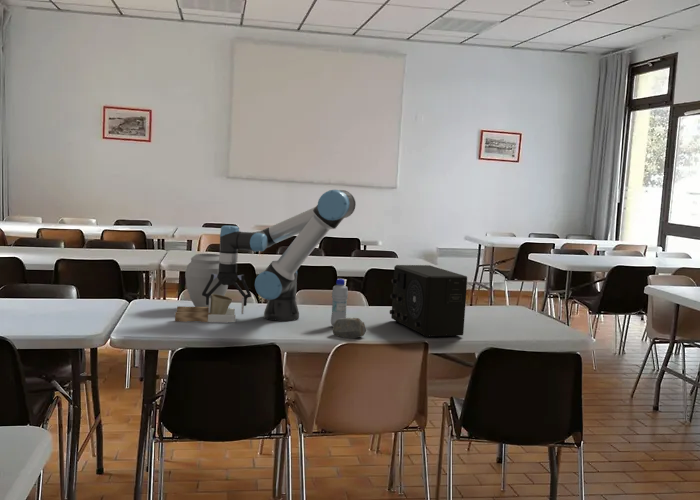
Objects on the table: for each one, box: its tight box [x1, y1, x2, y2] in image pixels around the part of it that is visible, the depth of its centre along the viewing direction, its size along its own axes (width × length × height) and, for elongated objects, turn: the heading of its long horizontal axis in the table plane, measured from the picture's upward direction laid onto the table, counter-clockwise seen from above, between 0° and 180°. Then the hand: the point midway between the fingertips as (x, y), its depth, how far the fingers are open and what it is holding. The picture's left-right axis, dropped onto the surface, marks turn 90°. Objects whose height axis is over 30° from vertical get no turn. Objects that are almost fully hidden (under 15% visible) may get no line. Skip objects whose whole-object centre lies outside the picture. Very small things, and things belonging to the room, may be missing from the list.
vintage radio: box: [389, 264, 468, 339], centre depth 295 cm, size 38×20×25 cm, turn 20°
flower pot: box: [210, 294, 234, 315], centre depth 293 cm, size 9×9×9 cm
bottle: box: [330, 278, 349, 328], centre depth 289 cm, size 7×7×20 cm
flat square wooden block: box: [174, 305, 211, 323], centre depth 291 cm, size 14×14×4 cm
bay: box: [207, 307, 236, 323], centre depth 294 cm, size 11×15×3 cm
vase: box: [184, 253, 229, 307], centre depth 311 cm, size 20×20×24 cm
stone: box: [332, 317, 367, 339], centre depth 273 cm, size 12×8×8 cm, turn 70°
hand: (225, 313), depth 294 cm, fingers open, 13 cm apart
